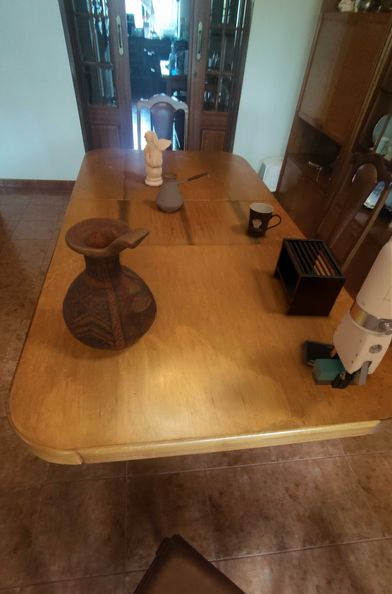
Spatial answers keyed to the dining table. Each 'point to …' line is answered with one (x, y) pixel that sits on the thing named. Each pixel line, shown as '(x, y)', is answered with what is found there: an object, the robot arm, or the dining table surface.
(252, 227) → the coffee mug
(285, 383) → the dining table surface
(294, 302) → the rack
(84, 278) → the jug
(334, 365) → the teal rectangular block
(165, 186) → the coffee pot
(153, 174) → the cherub figurine
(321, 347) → the phone
